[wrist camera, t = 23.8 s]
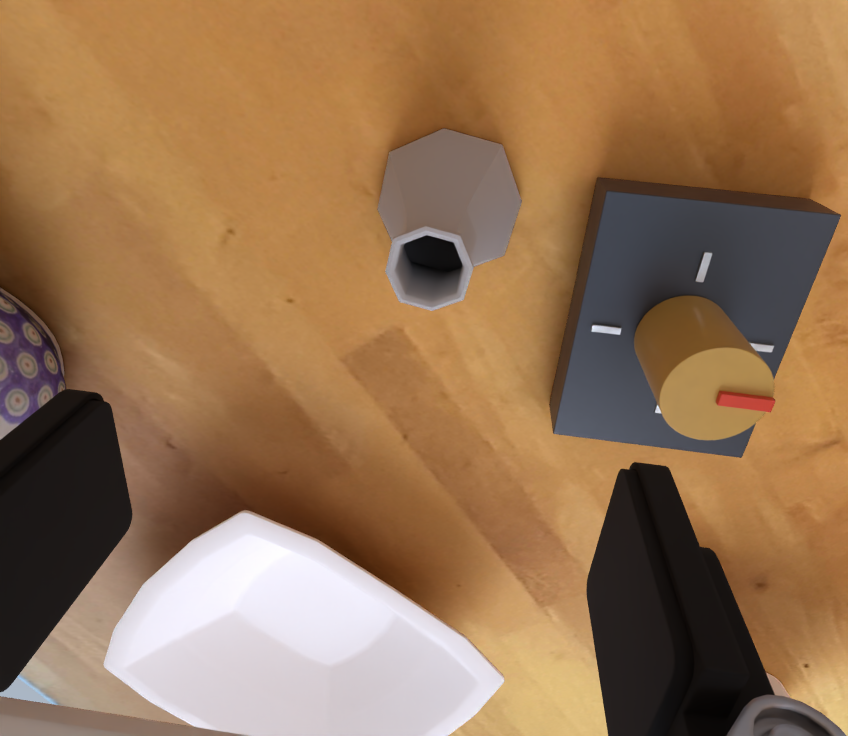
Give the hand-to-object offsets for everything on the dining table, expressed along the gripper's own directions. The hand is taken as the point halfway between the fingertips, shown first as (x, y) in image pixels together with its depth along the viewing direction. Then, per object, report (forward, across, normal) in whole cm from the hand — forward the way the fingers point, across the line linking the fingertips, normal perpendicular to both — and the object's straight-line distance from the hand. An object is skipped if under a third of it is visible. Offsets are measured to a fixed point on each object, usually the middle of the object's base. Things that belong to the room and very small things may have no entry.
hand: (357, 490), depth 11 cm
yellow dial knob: (+19, -12, +4) cm, 23 cm away
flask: (+22, 0, 0) cm, 22 cm away
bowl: (+22, +7, +31) cm, 39 cm away
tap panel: (+22, -12, +4) cm, 26 cm away
